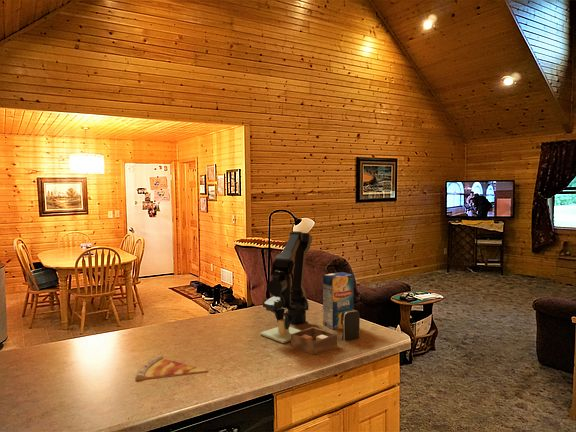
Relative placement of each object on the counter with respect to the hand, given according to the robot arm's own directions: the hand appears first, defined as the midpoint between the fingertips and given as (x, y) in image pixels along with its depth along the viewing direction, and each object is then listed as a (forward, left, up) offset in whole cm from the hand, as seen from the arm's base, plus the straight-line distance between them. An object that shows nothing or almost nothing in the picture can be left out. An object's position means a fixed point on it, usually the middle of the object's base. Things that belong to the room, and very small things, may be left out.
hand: (283, 328), depth 171 cm
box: (+16, 0, -4) cm, 16 cm away
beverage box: (+7, +25, -4) cm, 26 cm away
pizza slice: (-3, -50, -4) cm, 50 cm away
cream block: (+18, +2, -3) cm, 19 cm away
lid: (0, 0, -3) cm, 3 cm away
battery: (+20, +16, -4) cm, 26 cm away
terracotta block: (+14, -2, -3) cm, 14 cm away
